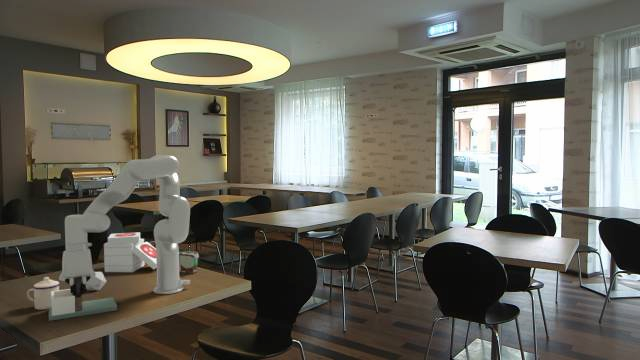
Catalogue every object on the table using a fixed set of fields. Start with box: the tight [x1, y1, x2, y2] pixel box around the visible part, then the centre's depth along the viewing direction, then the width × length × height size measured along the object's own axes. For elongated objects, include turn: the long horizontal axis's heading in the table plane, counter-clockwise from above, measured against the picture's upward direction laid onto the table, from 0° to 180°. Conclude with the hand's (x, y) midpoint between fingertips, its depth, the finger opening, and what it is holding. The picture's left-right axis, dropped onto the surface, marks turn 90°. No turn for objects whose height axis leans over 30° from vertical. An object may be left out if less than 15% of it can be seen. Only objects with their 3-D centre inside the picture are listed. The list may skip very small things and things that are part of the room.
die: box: [86, 271, 107, 291], centre depth 209 cm, size 8×9×10 cm
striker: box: [73, 276, 83, 310], centre depth 180 cm, size 2×10×11 cm, turn 30°
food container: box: [179, 250, 200, 274], centre depth 242 cm, size 12×6×10 cm, turn 58°
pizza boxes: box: [103, 231, 157, 273], centre depth 249 cm, size 19×30×18 cm, turn 87°
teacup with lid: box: [26, 276, 61, 311], centre depth 186 cm, size 12×9×12 cm
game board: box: [48, 288, 118, 322], centre depth 181 cm, size 23×14×8 cm, turn 120°
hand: (78, 293), depth 180 cm, fingers closed on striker, 2 cm apart
